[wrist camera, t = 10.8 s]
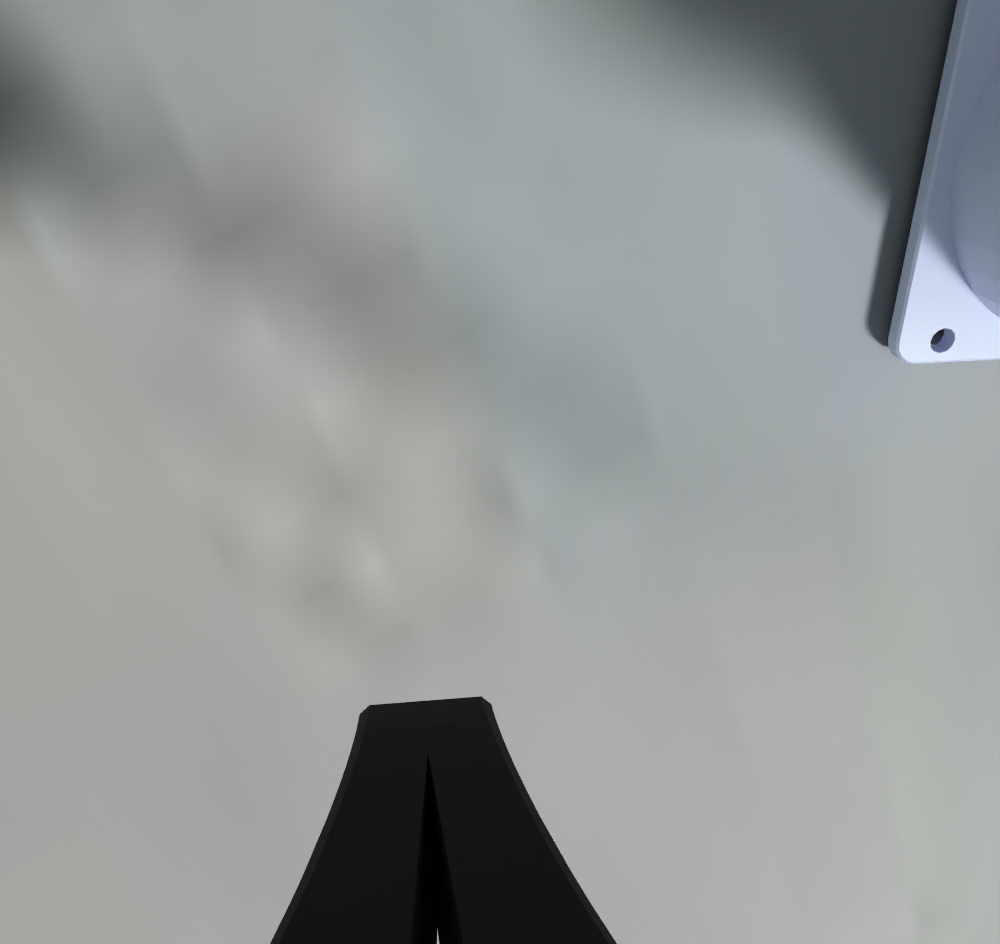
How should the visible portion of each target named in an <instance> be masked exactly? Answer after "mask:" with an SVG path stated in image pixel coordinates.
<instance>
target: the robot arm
mask: <svg viewBox="0 0 1000 944" xmlns="http://www.w3.org/2000/svg"><path fill="white" fill-rule="evenodd" d="M941 329H944V335H943V337H942V339H941V341H940V342H938V343H937V344H936V345H934V346H931V339H932V337H933V335H934V334H935V333H936V332H938V331H939V330H941ZM888 347H889V349H890V351H891V353H892V354H893V355H895V356H896V357H897V358H899V359H900V360H902V361H904V362H905V363H911V364H920V363H939V362H958V361H977V360H996V359H1000V0H958V1H957V5H956V10H955V15H954V20H953V25H952V30H951V35H950V40H949V44H948V49H947V54H946V59H945V64H944V69H943V74H942V79H941V83H940V88H939V93H938V98H937V103H936V108H935V113H934V118H933V122H932V127H931V132H930V137H929V142H928V147H927V152H926V157H925V161H924V166H923V171H922V176H921V181H920V186H919V191H918V196H917V200H916V205H915V210H914V215H913V220H912V225H911V230H910V235H909V239H908V244H907V249H906V254H905V259H904V264H903V269H902V274H901V278H900V283H899V288H898V293H897V298H896V303H895V308H894V313H893V317H892V322H891V327H890V332H889V337H888ZM437 928H438V936H439V943H440V944H616V942H615V940H614V939H613V937H612V936H611V934H610V933H609V931H608V930H607V928H606V926H605V925H604V923H603V922H602V920H601V919H600V917H599V916H598V914H597V913H596V911H595V909H594V908H593V906H592V905H591V903H590V902H589V900H588V899H587V897H586V895H585V894H584V892H583V890H582V889H581V887H580V885H579V884H578V882H577V880H576V879H575V877H574V876H573V874H572V872H571V871H570V869H569V867H568V865H567V864H566V862H565V860H564V858H563V856H562V855H561V853H560V851H559V849H558V848H557V846H556V844H555V842H554V841H553V839H552V837H551V835H550V833H549V832H548V830H547V828H546V826H545V825H544V823H543V821H542V819H541V818H540V816H539V814H538V812H537V810H536V808H535V806H534V804H533V802H532V800H531V798H530V796H529V794H528V792H527V790H526V788H525V786H524V784H523V782H522V780H521V778H520V776H519V774H518V772H517V770H516V768H515V766H514V763H513V761H512V759H511V757H510V754H509V752H508V750H507V747H506V745H505V743H504V740H503V738H502V735H501V732H500V730H499V727H498V724H497V722H496V719H495V716H494V712H493V709H492V705H491V704H490V703H489V702H488V701H486V700H485V699H484V698H483V697H469V698H456V699H444V700H431V701H418V702H405V703H392V704H379V705H369V706H368V707H367V708H366V709H365V710H364V711H363V712H362V713H361V714H360V716H359V721H358V726H357V731H356V735H355V738H354V742H353V745H352V749H351V752H350V756H349V759H348V762H347V765H346V768H345V771H344V774H343V777H342V780H341V783H340V785H339V788H338V791H337V794H336V796H335V799H334V802H333V804H332V807H331V810H330V812H329V815H328V817H327V820H326V822H325V825H324V827H323V829H322V832H321V834H320V836H319V839H318V841H317V843H316V846H315V848H314V851H313V853H312V855H311V858H310V860H309V862H308V865H307V867H306V870H305V872H304V874H303V877H302V879H301V881H300V883H299V886H298V888H297V890H296V892H295V894H294V896H293V898H292V901H291V903H290V905H289V907H288V909H287V911H286V913H285V915H284V917H283V919H282V921H281V923H280V925H279V927H278V929H277V931H276V933H275V935H274V937H273V939H272V941H271V943H270V944H437Z"/></svg>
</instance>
